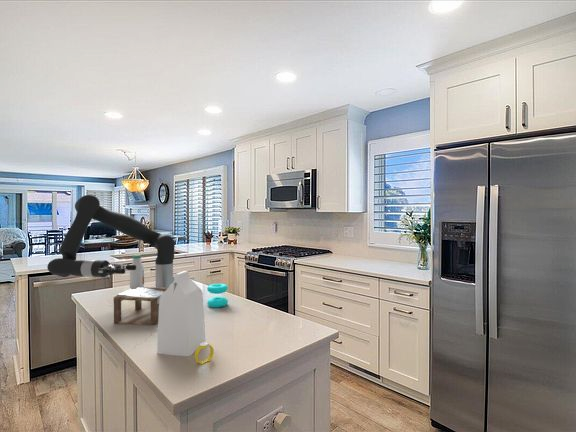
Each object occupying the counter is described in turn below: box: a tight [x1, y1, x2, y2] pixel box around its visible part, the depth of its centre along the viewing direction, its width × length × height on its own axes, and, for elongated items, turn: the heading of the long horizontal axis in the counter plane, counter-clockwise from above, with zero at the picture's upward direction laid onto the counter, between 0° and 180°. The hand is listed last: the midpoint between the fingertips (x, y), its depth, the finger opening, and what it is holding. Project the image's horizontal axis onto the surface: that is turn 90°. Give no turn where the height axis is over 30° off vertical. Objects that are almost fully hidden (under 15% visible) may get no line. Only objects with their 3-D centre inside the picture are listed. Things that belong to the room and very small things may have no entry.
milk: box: [156, 270, 207, 357], centre depth 112 cm, size 12×12×26 cm
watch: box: [194, 341, 214, 365], centre depth 101 cm, size 6×3×6 cm, turn 137°
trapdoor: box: [116, 287, 165, 303], centre depth 144 cm, size 17×13×3 cm
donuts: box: [206, 283, 229, 308], centre depth 162 cm, size 10×10×10 cm
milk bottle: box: [129, 254, 145, 289], centre depth 196 cm, size 8×8×20 cm
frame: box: [113, 286, 168, 326], centre depth 144 cm, size 18×18×11 cm
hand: (130, 269), depth 144 cm, fingers open, 8 cm apart
